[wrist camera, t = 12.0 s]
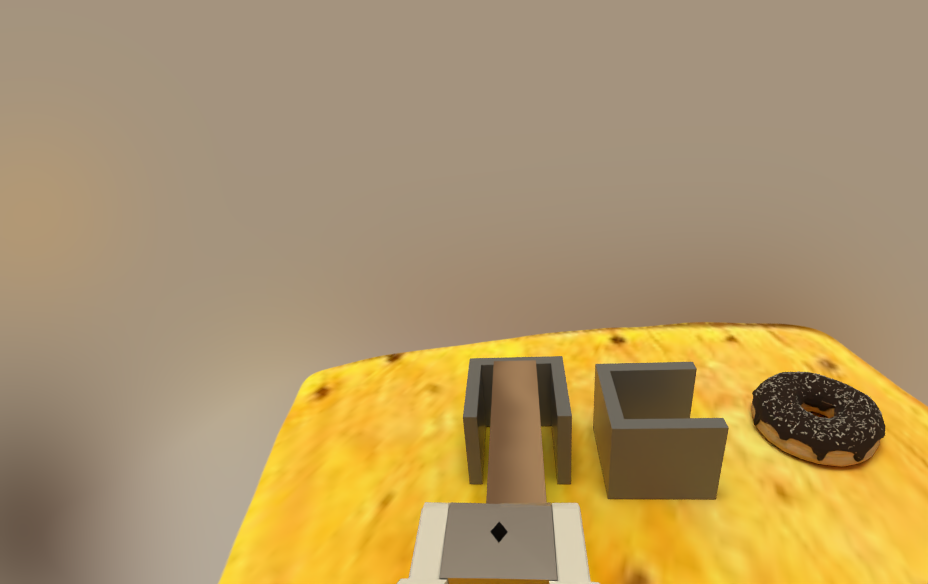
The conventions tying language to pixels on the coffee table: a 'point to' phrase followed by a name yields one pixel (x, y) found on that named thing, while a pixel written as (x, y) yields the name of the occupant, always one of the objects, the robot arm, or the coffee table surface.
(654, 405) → the end cap
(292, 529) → the coffee table surface
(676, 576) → the coffee table surface
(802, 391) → the donut
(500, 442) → the slat
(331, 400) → the coffee table surface
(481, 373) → the end cap
